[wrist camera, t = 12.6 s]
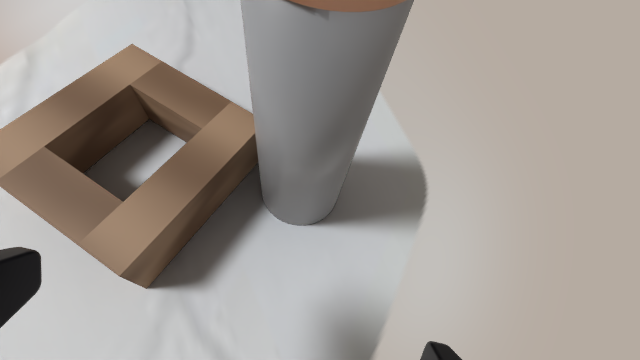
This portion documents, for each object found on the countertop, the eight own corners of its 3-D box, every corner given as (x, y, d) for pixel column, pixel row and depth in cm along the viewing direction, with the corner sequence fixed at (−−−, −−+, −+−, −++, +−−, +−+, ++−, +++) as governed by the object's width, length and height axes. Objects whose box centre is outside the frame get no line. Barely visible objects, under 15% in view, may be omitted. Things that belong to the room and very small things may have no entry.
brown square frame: (146, 288, 15) (119, 276, 13) (8, 185, 17) (-41, 155, 14) (267, 151, 20) (265, 121, 17) (149, 80, 22) (131, 43, 19)
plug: (296, 242, 17) (337, -11, 5) (244, 185, 19) (179, -127, 6) (354, 193, 19) (485, -77, 7) (303, 144, 21) (339, -156, 8)
